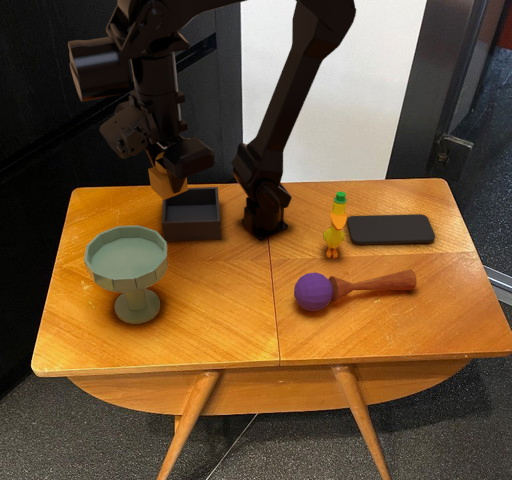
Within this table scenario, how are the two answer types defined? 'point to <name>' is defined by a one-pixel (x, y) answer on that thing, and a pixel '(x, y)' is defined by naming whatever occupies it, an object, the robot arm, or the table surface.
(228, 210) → the table surface
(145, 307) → the footed bowl
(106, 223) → the table surface
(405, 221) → the phone
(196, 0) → the robot arm
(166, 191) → the orange block
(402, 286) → the kendama
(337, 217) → the toy figure
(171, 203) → the bin
